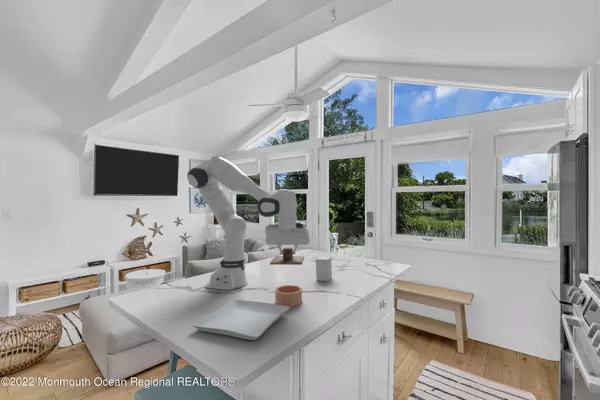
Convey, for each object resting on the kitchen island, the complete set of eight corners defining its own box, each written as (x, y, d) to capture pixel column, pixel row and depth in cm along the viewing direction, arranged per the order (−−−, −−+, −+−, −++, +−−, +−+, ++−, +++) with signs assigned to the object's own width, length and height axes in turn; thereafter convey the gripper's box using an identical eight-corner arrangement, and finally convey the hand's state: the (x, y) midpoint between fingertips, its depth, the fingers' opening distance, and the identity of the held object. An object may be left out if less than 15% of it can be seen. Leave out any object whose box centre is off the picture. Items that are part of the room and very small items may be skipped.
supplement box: (332, 278, 168) (331, 257, 168) (327, 281, 161) (327, 259, 161) (320, 277, 171) (320, 256, 171) (315, 280, 165) (315, 258, 164)
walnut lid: (270, 264, 124) (269, 251, 124) (275, 257, 138) (275, 245, 138) (301, 264, 123) (301, 251, 123) (304, 257, 137) (304, 245, 137)
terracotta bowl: (273, 306, 126) (273, 293, 126) (278, 297, 138) (278, 285, 137) (300, 307, 124) (300, 293, 124) (302, 297, 136) (302, 285, 136)
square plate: (235, 306, 128) (234, 298, 128) (290, 315, 118) (290, 305, 118) (191, 334, 102) (191, 323, 102) (257, 347, 92) (257, 335, 92)
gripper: (263, 225, 128) (264, 255, 129) (308, 224, 127) (309, 255, 127) (266, 223, 135) (267, 252, 135) (309, 223, 133) (310, 252, 133)
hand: (287, 254), depth 131 cm, fingers closed on walnut lid, 4 cm apart
